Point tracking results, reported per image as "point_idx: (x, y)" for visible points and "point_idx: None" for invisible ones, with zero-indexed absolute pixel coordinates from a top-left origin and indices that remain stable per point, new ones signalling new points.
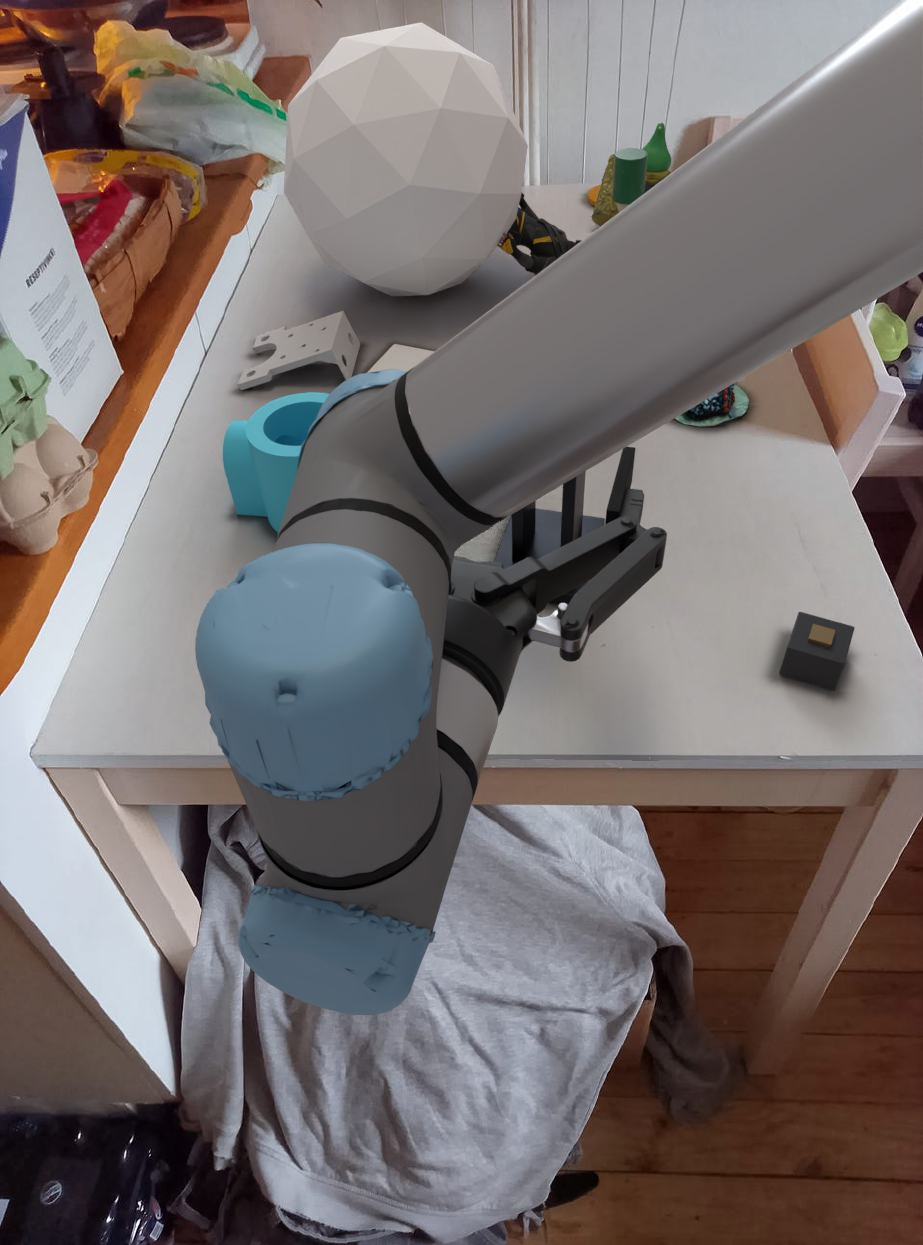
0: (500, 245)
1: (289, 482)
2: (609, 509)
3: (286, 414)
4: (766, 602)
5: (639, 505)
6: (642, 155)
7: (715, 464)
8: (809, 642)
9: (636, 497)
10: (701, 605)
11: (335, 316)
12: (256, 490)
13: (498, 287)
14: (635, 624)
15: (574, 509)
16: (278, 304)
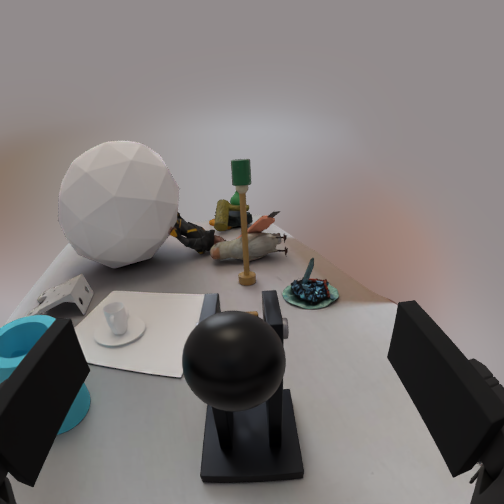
0: (169, 233)
1: None
2: (496, 418)
3: (17, 333)
4: None
5: (496, 384)
6: (247, 159)
7: (341, 328)
8: None
9: (480, 373)
10: (397, 437)
11: (77, 276)
12: None
13: (171, 258)
14: (357, 477)
15: (282, 397)
16: (57, 279)
